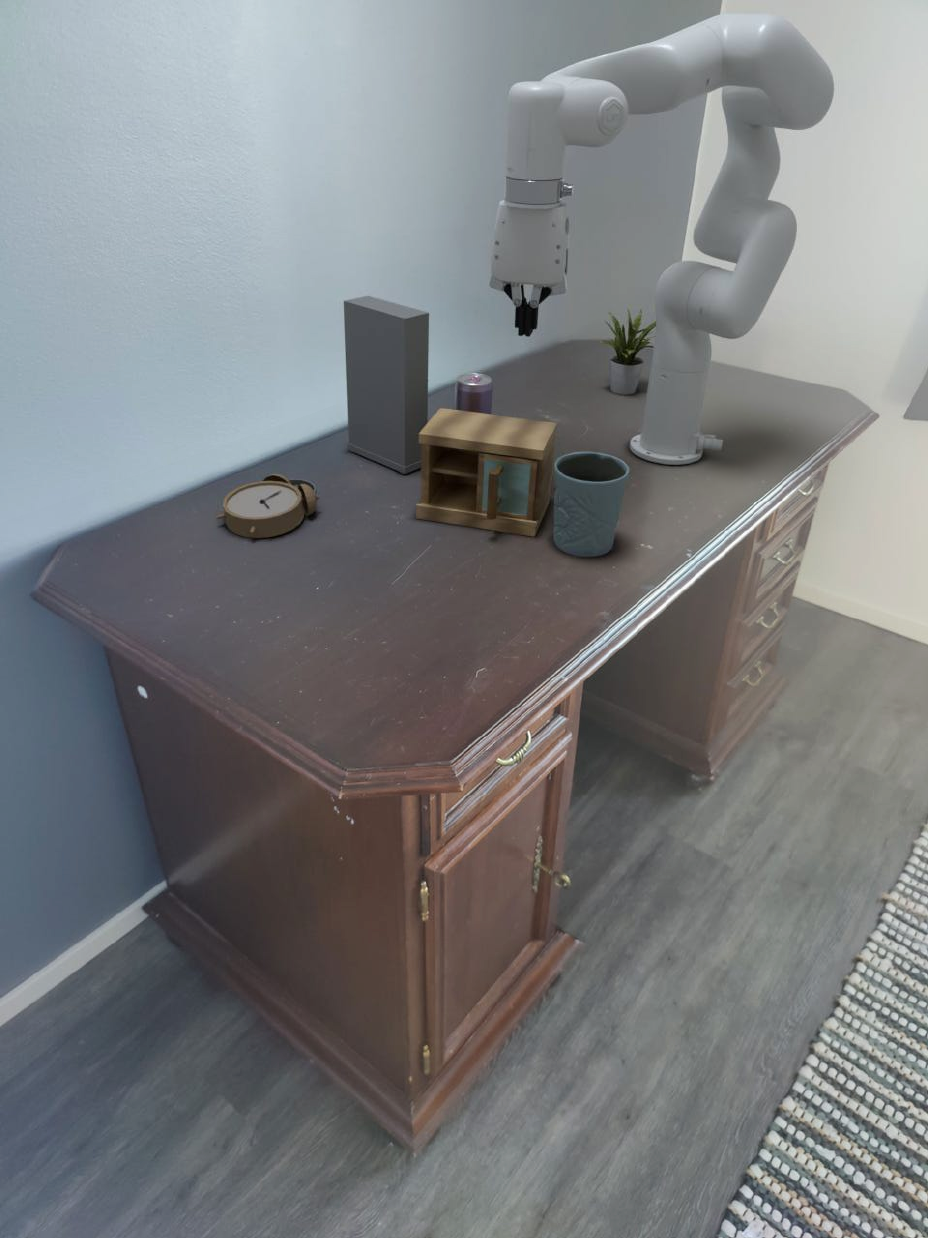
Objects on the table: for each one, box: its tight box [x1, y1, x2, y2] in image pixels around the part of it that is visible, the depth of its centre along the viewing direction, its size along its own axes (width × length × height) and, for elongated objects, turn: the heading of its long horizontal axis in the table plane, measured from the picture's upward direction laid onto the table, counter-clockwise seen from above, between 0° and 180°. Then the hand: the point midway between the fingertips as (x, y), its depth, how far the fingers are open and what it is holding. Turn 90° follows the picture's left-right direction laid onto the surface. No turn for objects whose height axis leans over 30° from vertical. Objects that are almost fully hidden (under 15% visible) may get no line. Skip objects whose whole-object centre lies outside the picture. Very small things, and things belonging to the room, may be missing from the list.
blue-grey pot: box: [552, 451, 630, 558], centre depth 125 cm, size 10×10×12 cm
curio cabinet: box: [415, 407, 558, 538], centre depth 132 cm, size 18×12×13 cm, turn 75°
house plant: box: [599, 309, 656, 396], centre depth 179 cm, size 14×14×16 cm
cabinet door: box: [476, 452, 538, 521], centre depth 126 cm, size 8×5×9 cm, turn 75°
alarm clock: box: [216, 473, 321, 539], centre depth 131 cm, size 11×5×15 cm
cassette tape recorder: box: [343, 295, 430, 475], centre depth 144 cm, size 14×6×25 cm, turn 48°
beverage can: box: [453, 372, 494, 415], centre depth 145 cm, size 6×6×15 cm
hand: (525, 333), depth 127 cm, fingers closed
